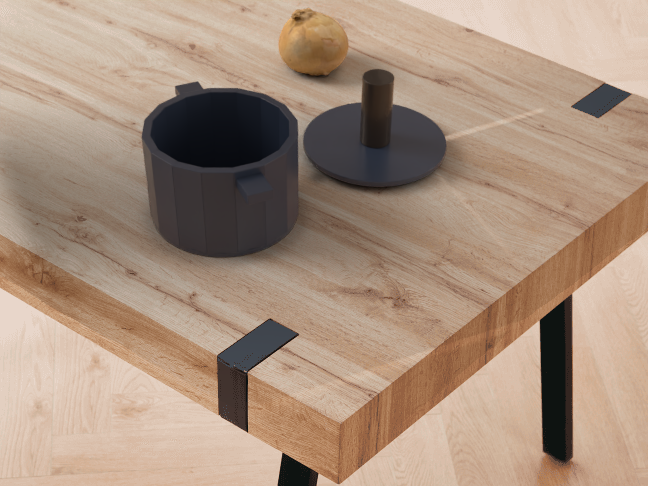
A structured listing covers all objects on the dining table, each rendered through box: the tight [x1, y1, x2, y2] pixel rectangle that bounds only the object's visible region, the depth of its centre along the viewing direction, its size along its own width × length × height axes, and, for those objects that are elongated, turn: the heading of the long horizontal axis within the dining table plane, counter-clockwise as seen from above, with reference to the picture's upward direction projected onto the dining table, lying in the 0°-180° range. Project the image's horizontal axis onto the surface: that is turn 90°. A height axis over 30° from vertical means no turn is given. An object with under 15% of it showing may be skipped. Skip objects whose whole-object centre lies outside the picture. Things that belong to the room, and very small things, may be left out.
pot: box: [141, 80, 299, 258], centre depth 101 cm, size 14×19×10 cm
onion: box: [277, 7, 350, 76], centre depth 123 cm, size 8×8×7 cm
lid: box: [302, 68, 448, 188], centre depth 110 cm, size 15×15×9 cm
